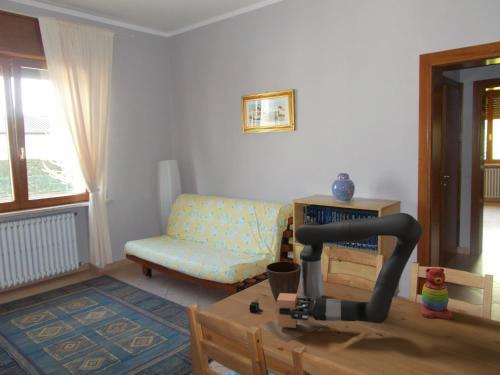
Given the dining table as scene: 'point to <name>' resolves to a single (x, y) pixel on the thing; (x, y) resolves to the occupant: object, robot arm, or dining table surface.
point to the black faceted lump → (254, 307)
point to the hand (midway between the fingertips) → (281, 307)
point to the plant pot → (283, 277)
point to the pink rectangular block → (286, 302)
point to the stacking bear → (435, 295)
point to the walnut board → (292, 333)
